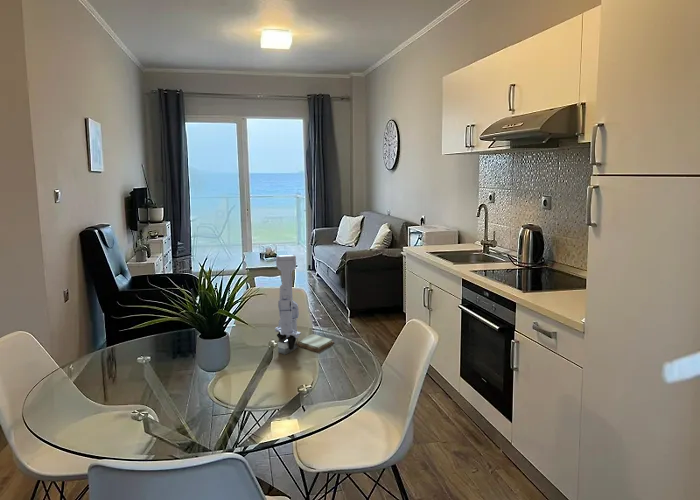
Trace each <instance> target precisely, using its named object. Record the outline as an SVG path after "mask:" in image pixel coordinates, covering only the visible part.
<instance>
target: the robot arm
mask: <svg viewBox="0 0 700 500" xmlns="http://www.w3.org/2000/svg"><path fill="white" fill-rule="evenodd" d="M275 265H276V268H277V269H278V271H280V274H281V285H280V286H279V300H278V302H277V303H278V304H277V308H278V312H279V313H278V314H279V320H278V326H276V327H275V328H274V331H275V333H277V334H276V337H277V338H278V341H280V340H282V339H284V338H285V337H287V336H289V335H290V336H289V337H287V339H288V342H289V348H290V350H292V349H293V348H294V344H295V341H296V338H297V339H298V338H300V335H301V332H300V331H298V325H297V324H298V323H297V322H298V321H297V319H299V317H300V313H299V312H300V311H299V304H298V303H297V302H296V301H294V300H293V298H294V297H293V277H292V276H293V275H292V274H293V271H294V270H296V268H297V258H296V255H295V254H289V255H288V254H287V255H280V254H279V255H276V257H275Z"/></svg>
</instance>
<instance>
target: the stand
mask: <svg viewBox="0 0 700 500" xmlns="http://www.w3.org/2000/svg"><path fill="white" fill-rule="evenodd" d="M334 343H335V340H333V339H331V338H328V337H325V336H322V335H321V336H320V335H318V334H316V333H315V334H314V333H312V334H309V335H307V336H305V337H304V338H301V339H300V340H299V341H298V342H297V347H300V348H304V349H307V350H309V351H313V352H316V353H319V352H321V351H323V350H324V349H326V348H328V347H329V346H331V345H332V344H334Z"/></svg>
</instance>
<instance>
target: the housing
mask: <svg viewBox="0 0 700 500" xmlns="http://www.w3.org/2000/svg"><path fill="white" fill-rule="evenodd" d="M289 336H290V335H289ZM289 336H287V337H289ZM287 337H285V338H284V339H282V340H278V341H277V351H278V354H281V355H287V354H290V353H291V352H293V351H295V350H297V349H298V346H297V344H298V338H296V341H295V344H294V348H293V349H292V350H290V348H289V342H288V339H287Z"/></svg>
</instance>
